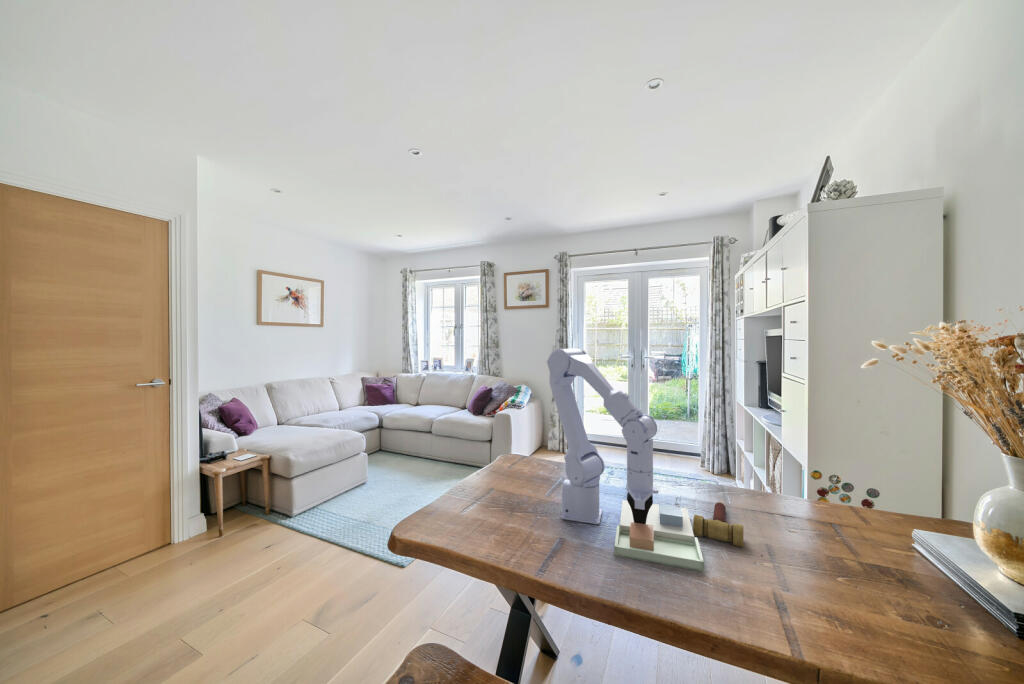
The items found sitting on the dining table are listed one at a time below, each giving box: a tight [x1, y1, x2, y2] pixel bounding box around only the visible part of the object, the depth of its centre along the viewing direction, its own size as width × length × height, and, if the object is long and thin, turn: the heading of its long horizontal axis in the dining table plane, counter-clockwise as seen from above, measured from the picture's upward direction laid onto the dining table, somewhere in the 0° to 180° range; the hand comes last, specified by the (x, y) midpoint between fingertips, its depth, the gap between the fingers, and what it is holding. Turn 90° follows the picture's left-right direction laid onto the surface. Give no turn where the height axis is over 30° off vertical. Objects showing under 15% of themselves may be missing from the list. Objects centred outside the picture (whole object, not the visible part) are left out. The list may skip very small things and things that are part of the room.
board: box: [619, 499, 695, 542], centre depth 92 cm, size 16×14×2 cm
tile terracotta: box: [630, 522, 654, 551], centre depth 83 cm, size 5×5×2 cm
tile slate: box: [658, 503, 683, 527], centre depth 90 cm, size 5×5×2 cm
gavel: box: [692, 501, 744, 548], centre depth 93 cm, size 21×5×10 cm
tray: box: [614, 524, 705, 573], centre depth 81 cm, size 17×9×2 cm, turn 71°
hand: (639, 526), depth 86 cm, fingers closed
